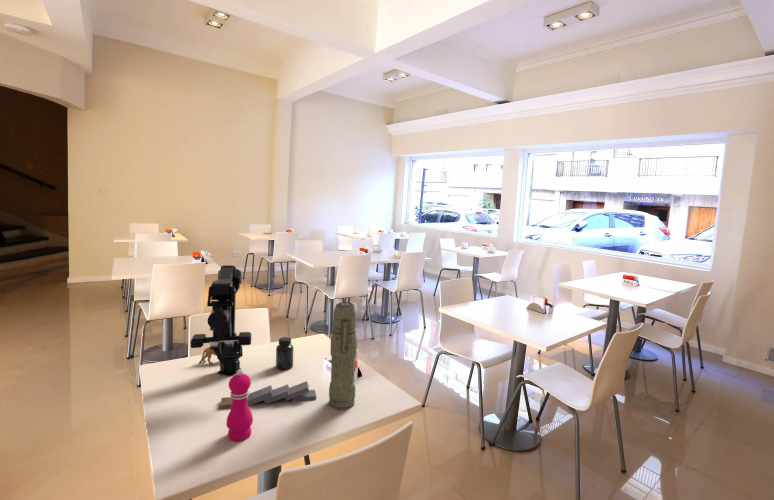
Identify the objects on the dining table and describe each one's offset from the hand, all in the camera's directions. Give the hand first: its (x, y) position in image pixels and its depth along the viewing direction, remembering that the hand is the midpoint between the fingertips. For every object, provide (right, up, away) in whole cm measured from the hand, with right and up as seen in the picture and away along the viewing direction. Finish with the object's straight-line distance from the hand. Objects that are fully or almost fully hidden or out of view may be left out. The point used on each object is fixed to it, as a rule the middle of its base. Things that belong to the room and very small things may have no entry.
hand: (222, 363), depth 139 cm
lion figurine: (-14, -8, +31) cm, 35 cm away
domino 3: (+15, -12, 0) cm, 19 cm away
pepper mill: (+13, -15, -20) cm, 29 cm away
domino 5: (+23, -13, +3) cm, 27 cm away
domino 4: (+21, -12, +2) cm, 24 cm away
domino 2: (+9, -12, -1) cm, 15 cm away
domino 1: (+1, -12, -4) cm, 13 cm away
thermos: (+41, -14, +1) cm, 43 cm away
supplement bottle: (+14, -10, +29) cm, 33 cm away
